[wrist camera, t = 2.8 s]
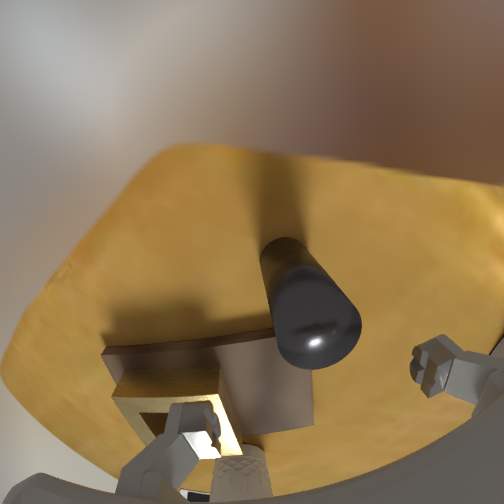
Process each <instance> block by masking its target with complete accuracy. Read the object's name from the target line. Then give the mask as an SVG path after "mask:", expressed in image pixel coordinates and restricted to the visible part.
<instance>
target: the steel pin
mask: <svg viewBox="0 0 504 504" xmlns="http://www.w3.org/2000/svg"><path fill="white" fill-rule="evenodd" d="M260 267H261V271H262V276H263V281H264V285H265V290H266V294H267V299H268V304H269V308H270V313H271V317H272V322H273V327H274V331H275V336H276V341H277V345H278V349H279V352H280V354H281V355H282V357H283V358H284V359H285V360H286V361H287V362H288V363H289V364H291V365H293V366H295V367H298V368H301V369H307V370H314V369H321V368H325V367H328V366H331V365H333V364H335V363H337V362H339V361H340V360H342V359H343V358H344V357H346V356H347V355H348V354H349V353H350V352H351V351H352V349H353V348H354V347H355V345H356V344H357V342H358V340H359V337H360V334H361V328H362V321H361V317H360V314H359V312H358V310H357V309H356V307H355V306H354V305H353V304H352V303H351V301H350V300H349V299H348V298H347V296H346V295H345V294H344V293H343V292H342V290H341V289H340V288H339V287H338V286H337V284H336V283H335V282H334V281H333V280H332V278H331V277H330V276H329V275H328V274H327V272H326V271H325V270H324V269H323V268H322V267H321V265H320V264H319V263H318V262H317V261H316V260H315V258H314V257H313V256H312V255H311V254H310V253H309V251H308V250H307V249H306V248H305V247H304V246H303V245H302V244H301V243H300V242H299V241H297V240H295V239H292V238H286V237H284V238H278V239H276V240H273V241H272V242H270V243H269V244H268V245H267V246H266V247H265V248H264V250H263V252H262V254H261V257H260Z"/></svg>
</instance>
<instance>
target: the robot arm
mask: <svg viewBox="0 0 504 504" xmlns="http://www.w3.org/2000/svg"><path fill="white" fill-rule="evenodd" d="M412 355H413V356H414V358H413V360H412V361H411V363H410V374H411V376H412V379H413V380H414V381H415V383H419V384H421V390H422V391H423V393H424V394H425V395H426V396H427V398H430V397H432V396H434V395H436V394H438V393H440V392H442V391H444V392H446V393H448V394H451V395H453V396H455V397H458V398H460V399H462V400H465V401H467V402H469V403H472V404H474V405H476V407H475V409H474V411H473V413H472V418H471V419H469V420H468V421H466V422H465V423H463V424H462V425H460V426H459V427H457V428H456V429H454V430H452V431H451V432H449V433H448V434H446V435H444V436H443V437H441V438H439V439H438V440H436V441H434V442H432V443H430V444H429V445H427V446H425V447H423V448H421V449H419V450H417V451H415V452H413V453H411V454H409V455H407V456H405V457H403V458H401V459H399V460H397V461H394V462H392V463H390V464H387V465H385V466H383V467H380V468H378V469H375V470H373V471H370V472H367V473H365V474H362V475H359V476H356V477H353V478H350V479H347V480H344V481H341V482H337V483H334V484H330V485H327V486H323V487H319V488H315V489H311V490H307V491H302V492H298V493H293V494H287V495H282V496H275V497H269V498H261V499H253V500H242V501H228V502H188V500H187V499H186V498H185V497H183V496H182V495H181V494H180V493H179V492H178V491H177V489H178V488H179V487H180V486H181V484H182V483H183V482H184V480H185V479H186V478H187V476H188V475H189V474H190V472H191V471H192V470H193V468H194V467H195V466H196V464H197V463H198V461H199V459H207V458H219V457H221V443H220V441H219V439H218V438H219V437H220V436H221V425H220V420H219V417H218V415H217V413H215V412H214V406H213V404H212V402H211V401H210V400H206V401H193V402H180V403H172V404H171V405H170V408H169V413H168V417H167V422H166V426H165V431H164V434H160V435H159V436H158V437H156V438H155V439H154V440H153V441H152V442H151V443H150V444H149V445H148V446H147V447H146V448H144V449H143V450H142V451H141V452H140V453H139V454H138V455H137V456H135V457H134V458H133V459H132V460H131V461H130V462H129V463H127V464H126V465H125V466H124V467H123V468H122V470H121V474H120V477H119V481H118V484H117V488H116V492H115V494H114V493H109V492H105V491H100V490H96V489H92V488H88V487H85V486H81V485H78V484H74V483H71V482H68V481H65V480H62V479H59V478H56V477H54V476H51V475H48V474H45V473H37V474H35V475H32V476H30V477H29V478H27V479H25V480H23V481H22V482H20V483H18V484H16V485H15V486H14V487H12V489H11V490H10V491H9V493H8V494H7V496H6V497H5V499H4V501H3V503H2V504H504V337H503V338H502V340H501V341H500V342H499V344H498V345H497V346H496V348H495V349H494V351H493V352H492V353H491V355H485V354H481V353H476V352H471V351H466V352H465V351H463V350H462V349H461V348H460V347H459V346H458V345H457V344H455V343H454V342H453V341H452V340H451V339H450V338H448V337H447V336H446V335H444V334H441V335H439V336H437V337H435V338H433V339H430V340H428V341H426V342H424V343H422V344H419V345H417V346H415V347H414V349H413V352H412Z"/></svg>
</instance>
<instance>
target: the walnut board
mask: <svg viewBox="0 0 504 504" xmlns="http://www.w3.org/2000/svg"><path fill="white" fill-rule="evenodd" d="M101 357H102V359H103V361H104V363H105V365H106V366H107V368H108V370H109V372H110V374H111V376H112V378H113V379H114V381H115V383H116V385H117V384H118V382H119V380H120V378H121V376H122V374H123V372H124V370H153V369H170V368H183V367H194V366H204V365H213V364H221V367H222V370H223V373H224V376H225V379H226V382H227V385H228V388H229V391H230V394H231V397H232V400H233V403H234V406H235V409H236V412H237V414H238V417H239V420H240V423H241V426H242V437H243V436H252V435H259V434H267V433H273V432H279V431H285V430H291V429H296V428H301V427H306V426H310V425H314V421H313V400H312V383H311V370H307V369H301V368H298V367H295V366H293V365H291V364H289V363H288V362H287V361H286V360H285V359H284V358H283V357H282V355H281V354H280V352H279V349H278V345H277V341H276V336H275V331H274V328H270V329H264V330H258V331H252V332H246V333H240V334H234V335H227V336H220V337H213V338H205V339H197V340H189V341H180V342H170V343H159V344H148V345H135V346H118V347H106V348H105V350H104V351H103V353H102V354H101ZM165 415H166V417H168V413H165Z"/></svg>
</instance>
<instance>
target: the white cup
mask: <svg viewBox="0 0 504 504" xmlns="http://www.w3.org/2000/svg"><path fill="white" fill-rule="evenodd" d="M269 497H273V494H272V488H271V482H270V477H269V472H268V468H267V465H266V459H265V453H264V451H263V450H262V449H260V448H259V447H257V446H253V445H250V444H243V455H232V456H221V457H219V458H215V466H214V469H213V477H212V482H211V491H210V500H209V502H228V501H242V500H253V499H261V498H269Z"/></svg>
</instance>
